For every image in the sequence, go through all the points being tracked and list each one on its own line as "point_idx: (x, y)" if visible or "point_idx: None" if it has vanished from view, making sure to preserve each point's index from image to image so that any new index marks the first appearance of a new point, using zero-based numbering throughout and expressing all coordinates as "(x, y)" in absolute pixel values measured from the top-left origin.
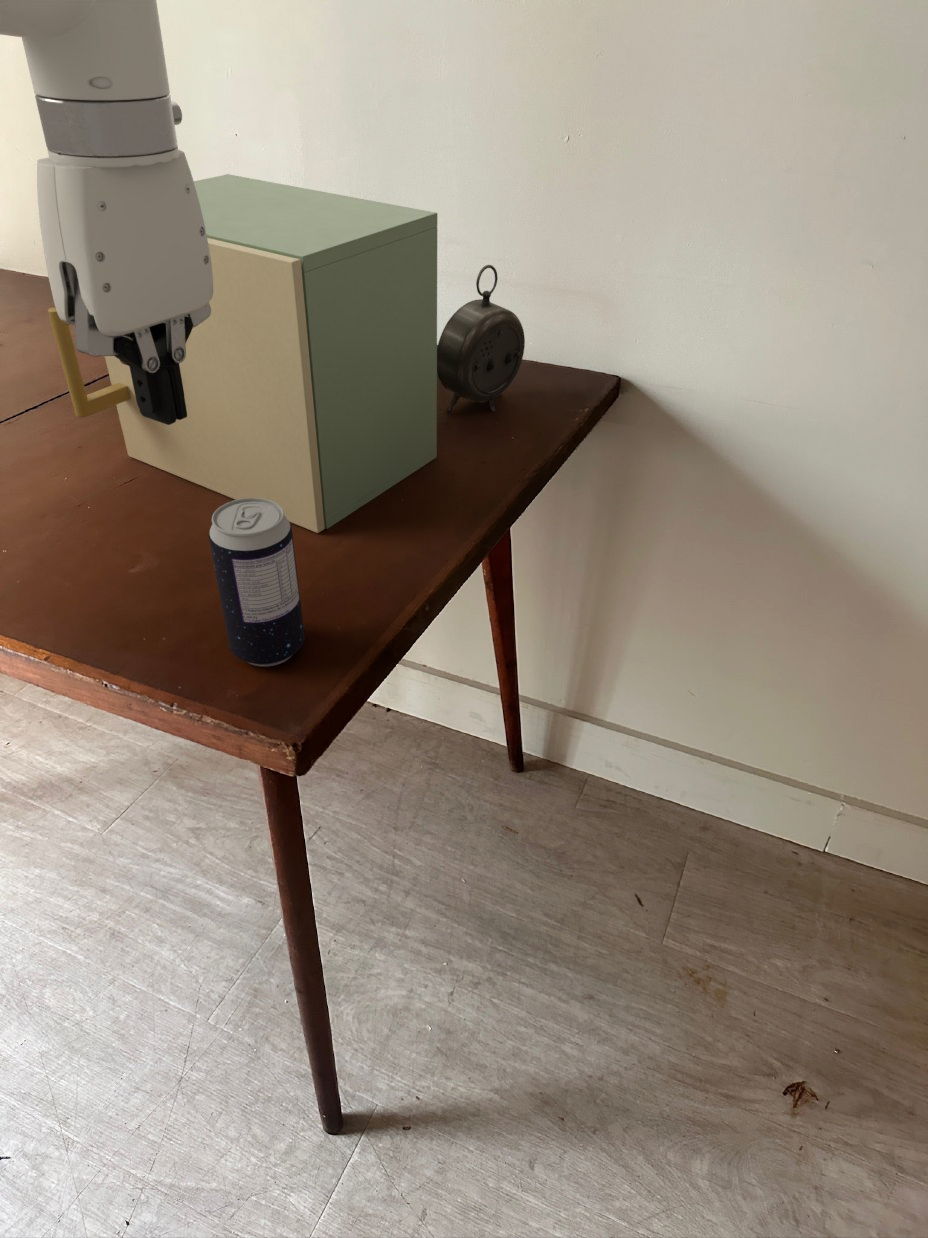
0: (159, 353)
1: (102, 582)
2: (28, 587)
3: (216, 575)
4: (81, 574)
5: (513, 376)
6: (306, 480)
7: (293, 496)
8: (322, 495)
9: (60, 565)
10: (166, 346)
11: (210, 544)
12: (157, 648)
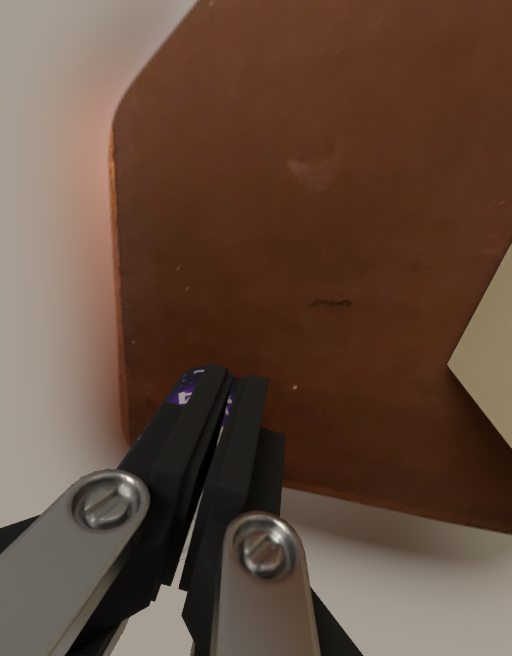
0: (193, 601)
1: (254, 140)
2: (205, 34)
3: (143, 431)
4: (260, 93)
5: None
6: (486, 396)
7: (485, 348)
8: None
9: (270, 37)
10: (209, 653)
11: (122, 462)
12: (170, 290)
